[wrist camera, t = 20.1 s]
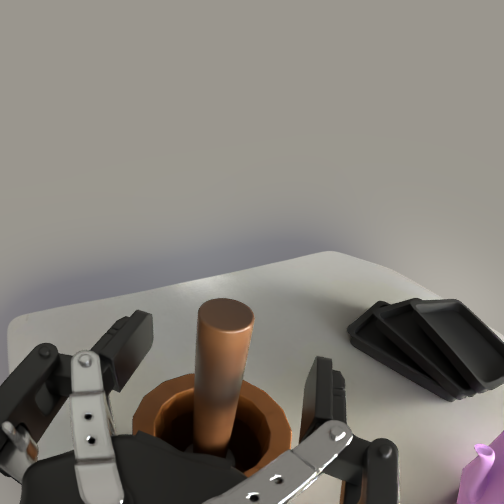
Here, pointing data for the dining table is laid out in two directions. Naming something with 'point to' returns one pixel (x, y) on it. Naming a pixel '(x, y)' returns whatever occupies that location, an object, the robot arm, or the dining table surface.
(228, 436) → the brush
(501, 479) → the teapot
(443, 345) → the tray
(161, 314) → the dining table surface
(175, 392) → the brown cylindrical holder
